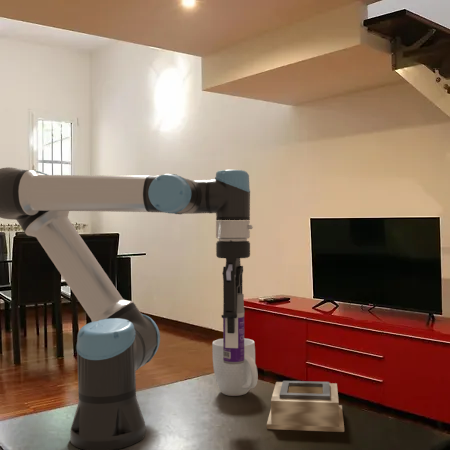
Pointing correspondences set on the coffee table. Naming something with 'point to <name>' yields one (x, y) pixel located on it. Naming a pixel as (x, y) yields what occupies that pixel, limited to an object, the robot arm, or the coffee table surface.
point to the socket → (305, 407)
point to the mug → (235, 370)
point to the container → (238, 353)
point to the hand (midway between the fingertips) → (233, 344)
